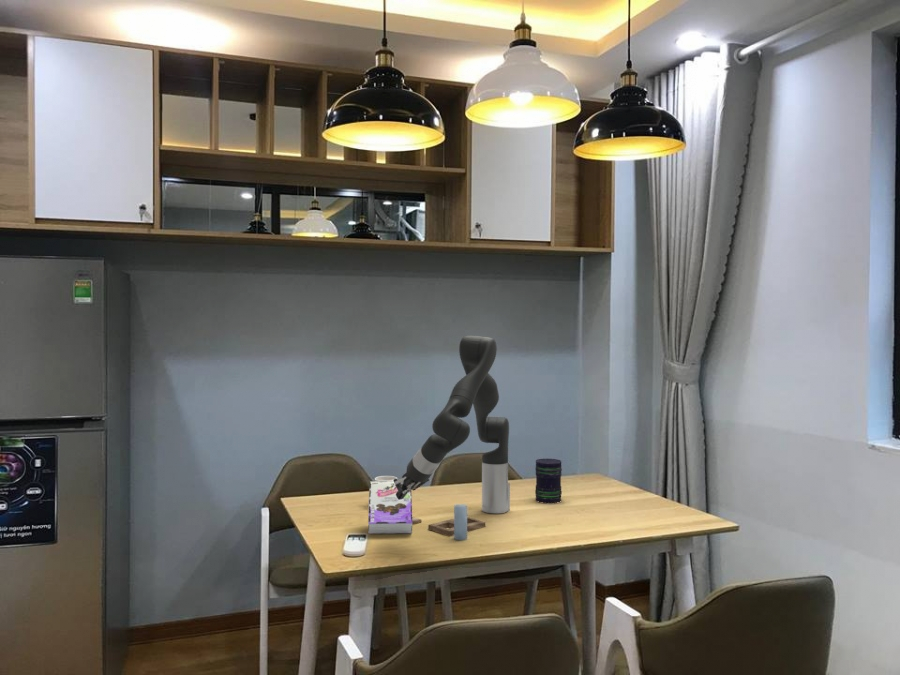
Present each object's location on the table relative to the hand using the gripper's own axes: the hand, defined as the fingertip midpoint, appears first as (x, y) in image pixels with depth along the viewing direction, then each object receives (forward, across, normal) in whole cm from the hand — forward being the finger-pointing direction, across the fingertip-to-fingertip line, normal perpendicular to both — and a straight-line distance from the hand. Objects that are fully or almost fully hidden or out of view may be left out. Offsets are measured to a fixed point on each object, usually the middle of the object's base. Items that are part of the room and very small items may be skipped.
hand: (398, 497), depth 218 cm
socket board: (+6, -21, +12) cm, 25 cm away
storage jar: (+10, -72, +9) cm, 73 cm away
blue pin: (0, -14, +18) cm, 23 cm away
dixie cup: (+34, -22, -16) cm, 43 cm away
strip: (+17, -13, +1) cm, 21 cm away
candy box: (+10, 0, +5) cm, 11 cm away
